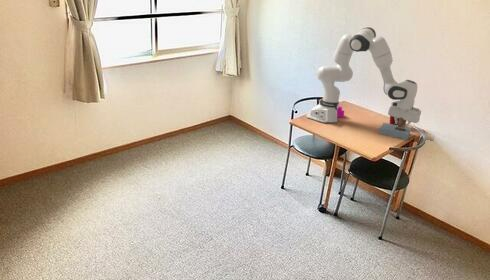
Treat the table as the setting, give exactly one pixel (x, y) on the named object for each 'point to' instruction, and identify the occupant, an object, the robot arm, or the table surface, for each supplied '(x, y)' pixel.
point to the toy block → (340, 112)
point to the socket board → (394, 131)
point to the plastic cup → (393, 120)
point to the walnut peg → (401, 124)
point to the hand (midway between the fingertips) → (401, 125)
